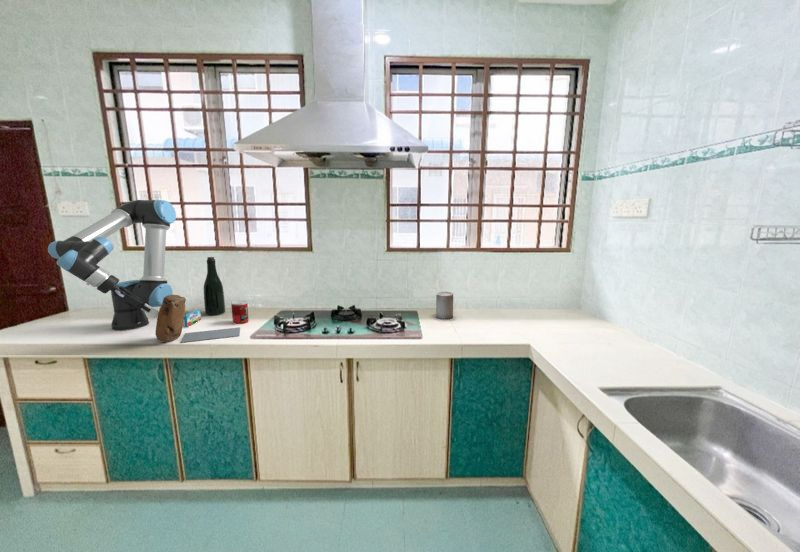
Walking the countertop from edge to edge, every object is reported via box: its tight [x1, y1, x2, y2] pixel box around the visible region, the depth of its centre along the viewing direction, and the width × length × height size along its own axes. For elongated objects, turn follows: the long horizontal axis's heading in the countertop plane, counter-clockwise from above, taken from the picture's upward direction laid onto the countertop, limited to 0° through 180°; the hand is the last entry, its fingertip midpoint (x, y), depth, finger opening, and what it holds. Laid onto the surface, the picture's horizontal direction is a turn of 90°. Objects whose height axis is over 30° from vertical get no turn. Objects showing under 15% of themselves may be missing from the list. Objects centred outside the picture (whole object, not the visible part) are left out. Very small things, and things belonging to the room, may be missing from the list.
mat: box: [179, 326, 241, 344], centre depth 165 cm, size 13×24×1 cm, turn 113°
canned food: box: [231, 300, 250, 325], centre depth 184 cm, size 8×8×11 cm
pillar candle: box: [435, 291, 454, 320], centre depth 197 cm, size 10×10×15 cm
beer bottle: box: [203, 256, 226, 317], centre depth 198 cm, size 10×10×33 cm
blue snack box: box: [183, 309, 202, 328], centre depth 181 cm, size 12×2×6 cm, turn 0°
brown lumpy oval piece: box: [155, 294, 187, 343], centre depth 156 cm, size 11×8×20 cm
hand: (156, 314), depth 153 cm, fingers closed
